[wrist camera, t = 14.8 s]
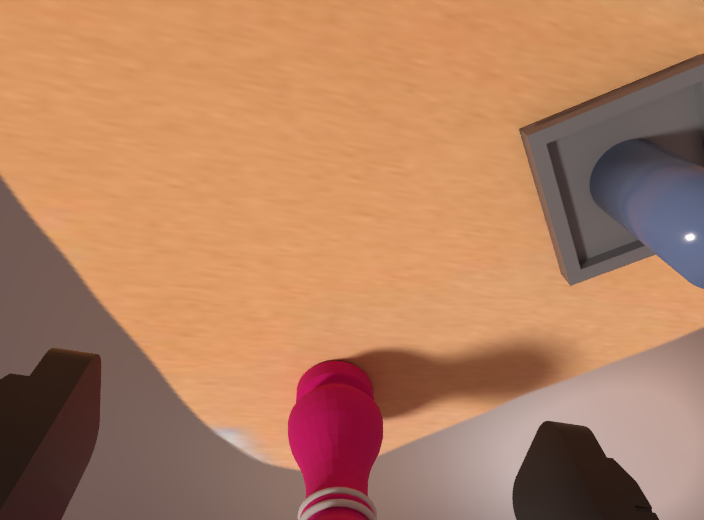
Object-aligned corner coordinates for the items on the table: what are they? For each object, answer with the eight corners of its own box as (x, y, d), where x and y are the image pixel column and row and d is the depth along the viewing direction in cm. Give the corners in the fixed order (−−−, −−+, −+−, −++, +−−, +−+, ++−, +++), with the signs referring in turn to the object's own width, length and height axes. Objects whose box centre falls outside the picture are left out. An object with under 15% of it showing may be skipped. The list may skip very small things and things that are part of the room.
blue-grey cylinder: (581, 158, 39) (669, 219, 29) (660, 125, 38) (778, 176, 28) (599, 226, 41) (686, 304, 31) (674, 196, 41) (788, 266, 31)
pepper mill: (331, 339, 46) (334, 575, 28) (396, 386, 48) (437, 633, 30) (273, 394, 48) (241, 646, 30) (338, 437, 50) (344, 694, 33)
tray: (519, 129, 39) (527, 136, 37) (699, 54, 37) (716, 58, 36) (561, 274, 44) (570, 285, 42) (722, 214, 42) (737, 224, 41)
